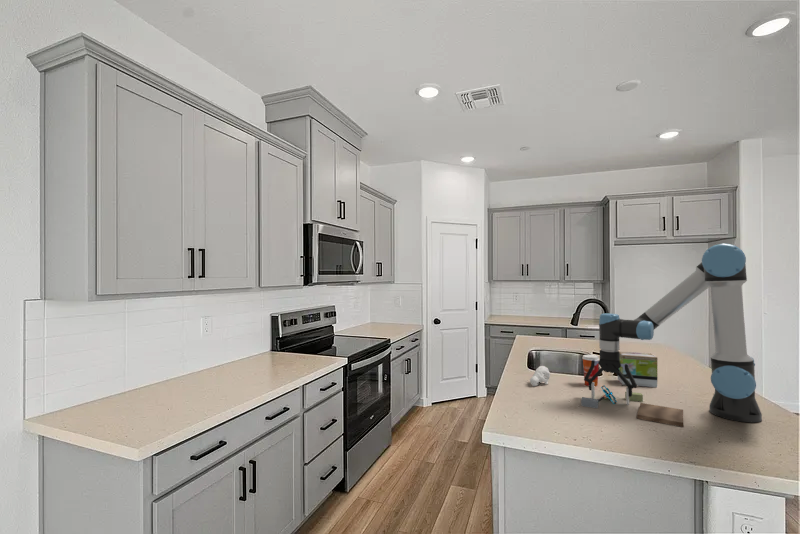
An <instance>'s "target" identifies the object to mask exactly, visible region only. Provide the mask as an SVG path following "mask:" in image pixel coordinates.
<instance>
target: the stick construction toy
mask: <svg viewBox="0 0 800 534" xmlns="http://www.w3.org/2000/svg"><path fill="white" fill-rule="evenodd" d="M600 387H601V391H602V392H603V393H604V394H603V395H602V396H601V397H600V398H597V399H598V403H599V402H601V401H602V400H605V399H607V398H608V400H609V401H610V402H612V404H613V405H615V404H616V403H617V402H618V401H617V400H616V397H615V396H614V395H613V392H612V391H611V390H610V389H609V388H608V387H606V385H602V386H600ZM604 388H605V389H604ZM613 400H614V401H613Z"/></svg>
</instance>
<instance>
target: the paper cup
mask: <svg viewBox="0 0 800 534" xmlns="http://www.w3.org/2000/svg"><path fill="white" fill-rule="evenodd" d="M581 358H582V366H583V368H582V369H583V380H584V378H585V376H586V374H587V372H588V370H589V369H590V367H591V361H592V360H593V359H594V360H596V361H599V360H600V356H599V355H595V354H594V355H593V354H584V355H582V357H581ZM599 366H600V365H599V364H597V365H596V366H595V367H594V368H593V370H592V372H591V374H590V376H589V379H591V378H592V377H593V376H594V375H595V374H596V373H597V372H598V371H599V369H600V368H599ZM593 382H594V386H595V387H598V382H599V375H598V376H597V377H596V378H595V379H594V380H593ZM584 385H585V386H588V387H589V383H588V382H587V381H585V380H584Z"/></svg>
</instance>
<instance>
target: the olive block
mask: <svg viewBox="0 0 800 534" xmlns="http://www.w3.org/2000/svg"><path fill="white" fill-rule="evenodd" d="M624 394H625V395H624V399H625V398H626V391H625V393H624ZM643 396H644V395H643V393H642V392H633V391H632V396H631V397H630V396H629V400H630V401H629V402H639V401H640V403H643V402H644V398H643Z"/></svg>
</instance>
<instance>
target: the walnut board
mask: <svg viewBox="0 0 800 534" xmlns="http://www.w3.org/2000/svg"><path fill="white" fill-rule="evenodd" d="M636 418H637V419H638V420H643V421H648V422H656V423H660V424H665V425H669V426H671V425H672V426H675V425H676V427H682V428H684V409H679V408H675V407H668V406H662V405H658V404H657V405H656V404H650V403H643V402H640V403H639V407H638V410H637V413H636Z"/></svg>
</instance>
